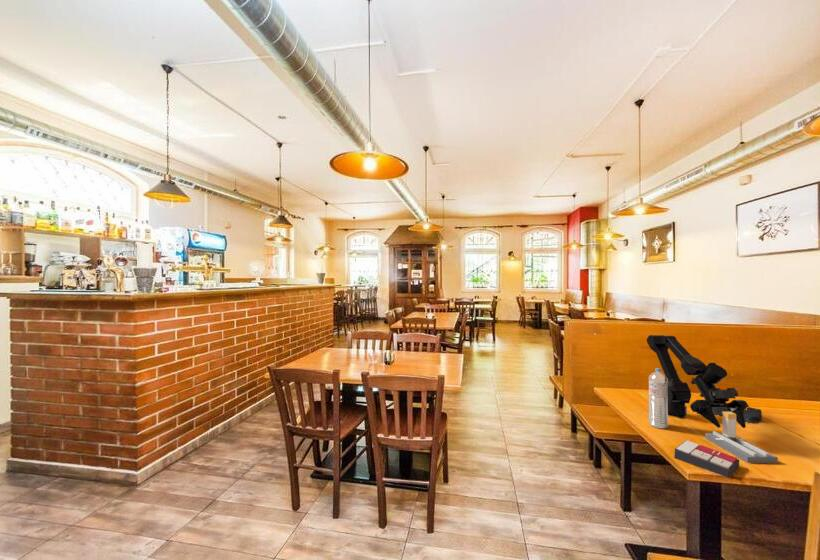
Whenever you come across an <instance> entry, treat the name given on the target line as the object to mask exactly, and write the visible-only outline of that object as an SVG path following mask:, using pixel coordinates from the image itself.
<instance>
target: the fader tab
mask: <svg viewBox="0 0 820 560" xmlns="http://www.w3.org/2000/svg"><path fill="white" fill-rule="evenodd" d="M721 424H722V425H721V426H722V427H721V428H722V430H721V431H722V433H723V436H725V437H727V438H729V439H731V440H736V436H737V421H736V414H735V413H733V412H722V421H721Z"/></svg>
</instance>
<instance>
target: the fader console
mask: <svg viewBox="0 0 820 560" xmlns="http://www.w3.org/2000/svg"><path fill="white" fill-rule="evenodd" d="M704 435H705V436H704V438H705V439H706V440H707V441H709V442H712V443H713V444H715V445H716V446H718V447H720V448H721V449H723V450H725V451H727V452H728V453H731V454H732V455H734V457H736V458H739V459H741V460H743V461H744V462H746V463H748V464H749V463H752V464H753V463H754V464H755V463H756V464H769V463H770V464H779V463H778V462H779V461H778V460H779V458H778V456H776V455H774V454H772V453H770V452H768V451H766V450H764V449H762V448H761V447H758V446H756V445H755V444H752V442H749V441H747V440H745V439H743V438H741V437H739V436H737V435H736V440H731V439H729V438H727V437H725V436H723V432H721V433H719V432H717V431H715V430H714V431H712V432H707V433H706V432H705V434H704Z"/></svg>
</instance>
